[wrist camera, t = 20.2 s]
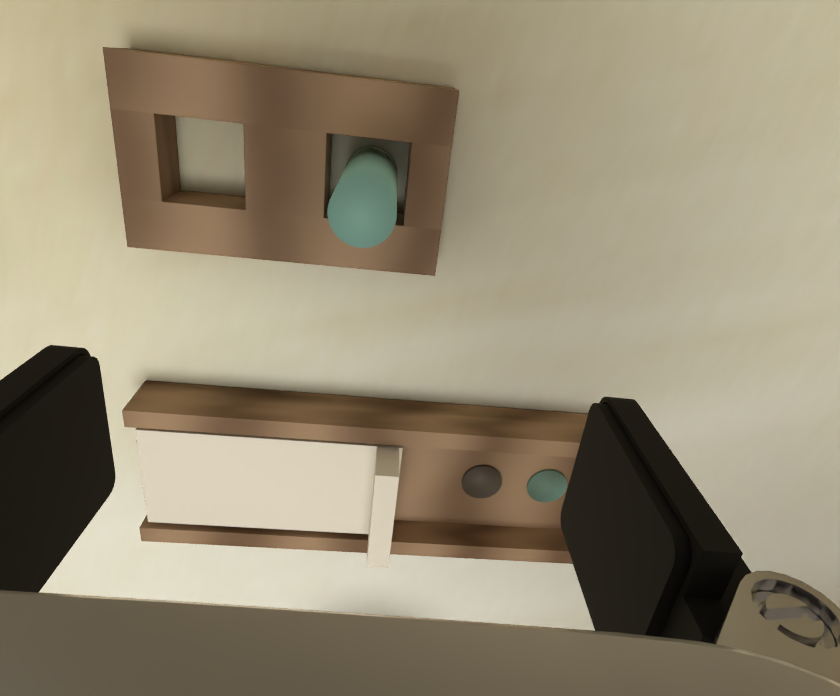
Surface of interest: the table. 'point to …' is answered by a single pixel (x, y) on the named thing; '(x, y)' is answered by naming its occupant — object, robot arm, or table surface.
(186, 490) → the lid
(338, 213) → the pin
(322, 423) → the board
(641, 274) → the table surface
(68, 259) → the table surface
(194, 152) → the table surface
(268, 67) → the pin board
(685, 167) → the table surface
